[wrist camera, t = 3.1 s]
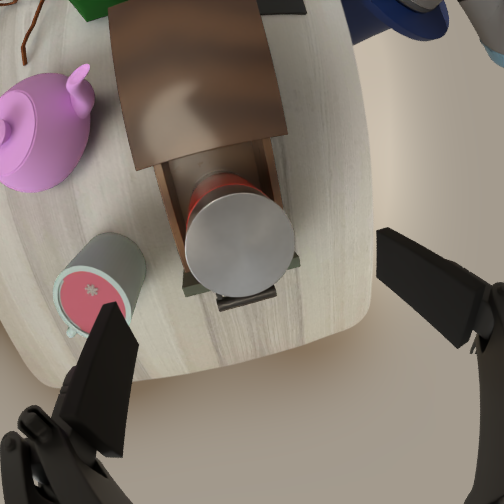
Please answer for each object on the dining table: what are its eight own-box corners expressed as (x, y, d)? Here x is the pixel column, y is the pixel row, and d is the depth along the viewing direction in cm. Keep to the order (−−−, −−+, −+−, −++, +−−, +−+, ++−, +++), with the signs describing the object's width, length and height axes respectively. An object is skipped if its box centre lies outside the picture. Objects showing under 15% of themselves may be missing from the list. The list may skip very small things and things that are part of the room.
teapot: (114, 47, 22) (78, 7, 11) (142, 144, 28) (110, 145, 17) (-1, 122, 21) (-58, 125, 10) (23, 209, 27) (-32, 239, 16)
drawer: (287, 273, 37) (304, 299, 31) (196, 297, 36) (198, 329, 30) (257, 114, 29) (273, 106, 22) (149, 139, 28) (136, 138, 21)
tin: (245, 163, 30) (287, 180, 16) (257, 222, 32) (302, 282, 19) (183, 178, 29) (169, 209, 15) (199, 237, 32) (202, 309, 18)
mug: (106, 218, 31) (75, 246, 22) (159, 264, 34) (148, 306, 25) (60, 287, 32) (31, 327, 23) (107, 324, 36) (90, 371, 27)
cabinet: (265, 136, 31) (288, 134, 23) (152, 164, 29) (135, 171, 21) (236, 11, 24) (249, -23, 16) (126, 36, 22) (107, 7, 14)
